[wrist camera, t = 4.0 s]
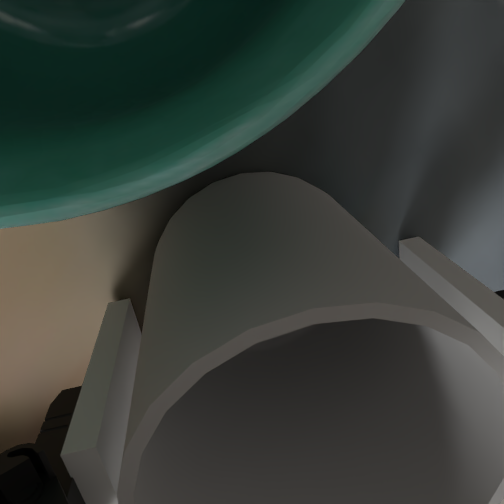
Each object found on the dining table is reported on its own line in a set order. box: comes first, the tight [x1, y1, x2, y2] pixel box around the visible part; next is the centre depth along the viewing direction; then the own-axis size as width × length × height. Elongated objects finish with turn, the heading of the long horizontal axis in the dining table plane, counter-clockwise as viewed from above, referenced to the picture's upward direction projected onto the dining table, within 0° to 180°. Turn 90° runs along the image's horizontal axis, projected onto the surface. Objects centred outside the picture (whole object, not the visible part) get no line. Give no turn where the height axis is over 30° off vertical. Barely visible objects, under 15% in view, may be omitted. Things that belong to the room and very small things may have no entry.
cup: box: [117, 172, 504, 504], centre depth 12 cm, size 7×10×9 cm
